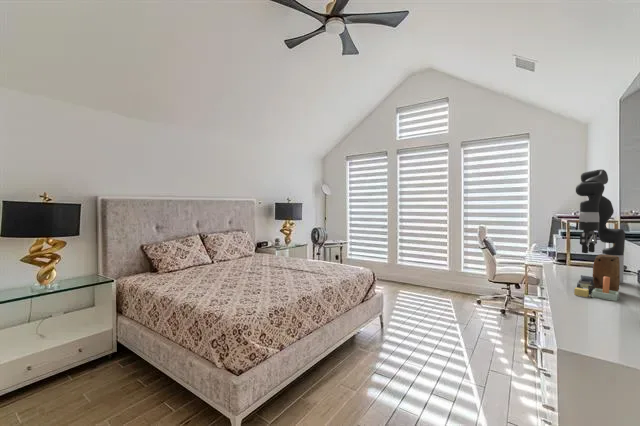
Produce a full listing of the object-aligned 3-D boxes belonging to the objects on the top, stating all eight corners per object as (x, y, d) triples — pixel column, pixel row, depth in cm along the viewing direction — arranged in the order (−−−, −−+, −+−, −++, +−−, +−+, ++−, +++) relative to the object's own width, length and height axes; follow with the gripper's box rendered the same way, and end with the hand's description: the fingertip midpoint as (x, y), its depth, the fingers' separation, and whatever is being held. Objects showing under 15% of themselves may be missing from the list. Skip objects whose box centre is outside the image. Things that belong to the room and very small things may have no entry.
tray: (595, 293, 153) (595, 287, 153) (619, 297, 146) (619, 291, 146) (591, 296, 148) (591, 291, 148) (616, 301, 140) (616, 295, 140)
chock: (576, 293, 154) (576, 287, 153) (588, 296, 149) (588, 289, 149) (574, 295, 151) (574, 288, 151) (586, 297, 147) (586, 290, 147)
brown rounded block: (620, 291, 156) (620, 255, 156) (618, 294, 152) (619, 257, 151) (593, 287, 165) (593, 253, 164) (591, 289, 160) (591, 254, 160)
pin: (602, 294, 148) (603, 276, 148) (609, 296, 146) (610, 277, 146) (601, 295, 147) (603, 276, 147) (608, 297, 145) (609, 277, 145)
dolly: (580, 288, 162) (580, 274, 162) (594, 290, 158) (594, 276, 157) (576, 291, 157) (576, 277, 156) (591, 294, 152) (591, 279, 152)
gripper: (584, 220, 151) (584, 250, 151) (573, 220, 144) (573, 252, 144) (604, 221, 144) (603, 252, 144) (593, 221, 137) (592, 254, 137)
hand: (588, 252), depth 144 cm, fingers open, 8 cm apart
